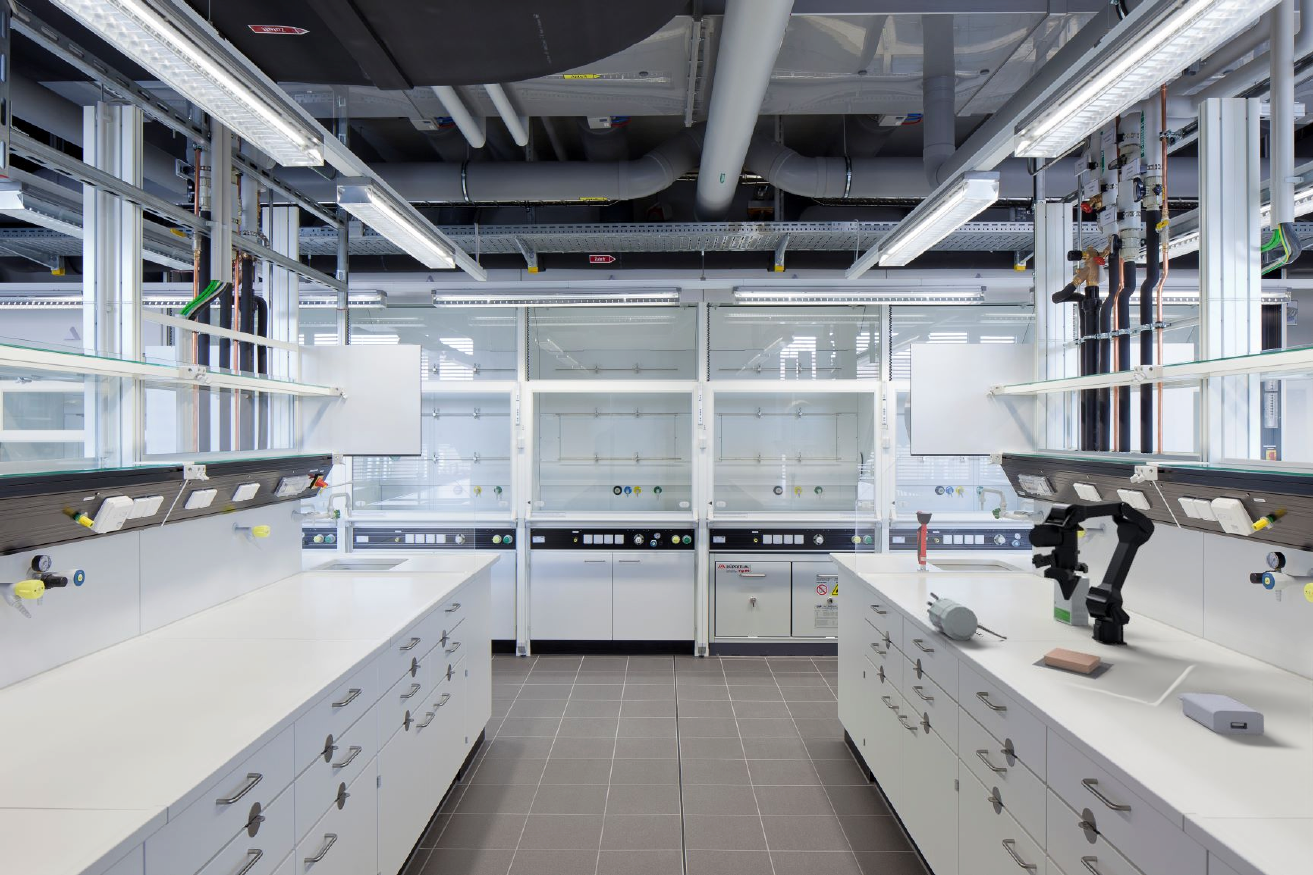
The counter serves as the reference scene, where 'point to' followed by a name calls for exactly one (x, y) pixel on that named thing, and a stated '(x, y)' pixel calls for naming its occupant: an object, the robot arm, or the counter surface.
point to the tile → (1072, 660)
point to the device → (952, 618)
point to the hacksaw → (989, 632)
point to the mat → (1092, 674)
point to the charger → (1222, 714)
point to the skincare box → (1072, 604)
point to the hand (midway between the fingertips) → (1066, 599)
